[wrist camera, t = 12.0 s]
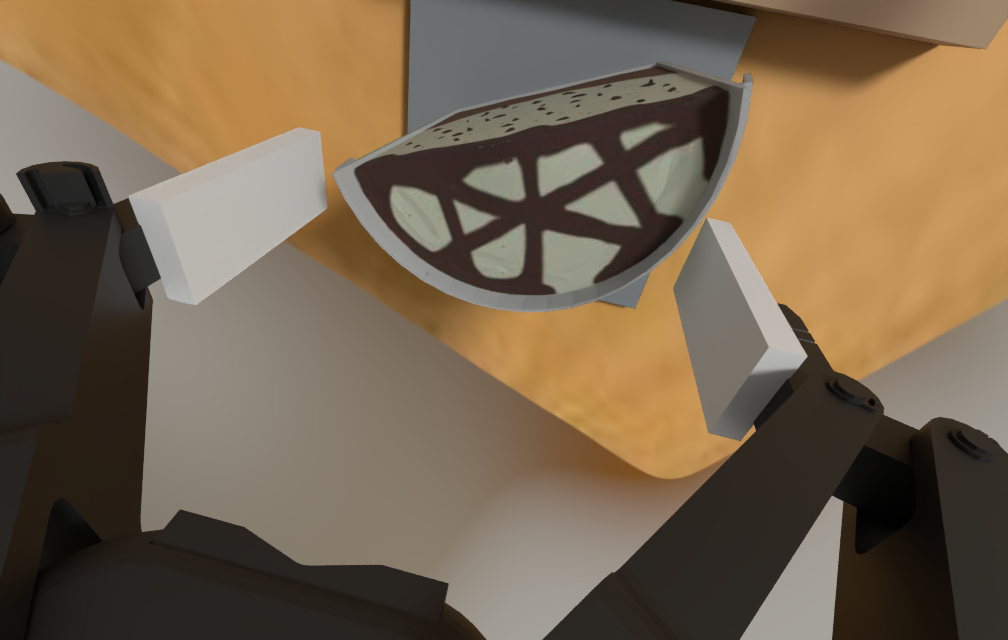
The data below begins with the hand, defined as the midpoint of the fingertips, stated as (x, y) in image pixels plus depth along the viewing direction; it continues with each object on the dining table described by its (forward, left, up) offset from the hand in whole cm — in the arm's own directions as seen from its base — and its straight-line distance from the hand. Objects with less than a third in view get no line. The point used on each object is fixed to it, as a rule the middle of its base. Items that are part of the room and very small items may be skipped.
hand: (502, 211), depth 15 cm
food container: (+1, 0, -8) cm, 8 cm away
